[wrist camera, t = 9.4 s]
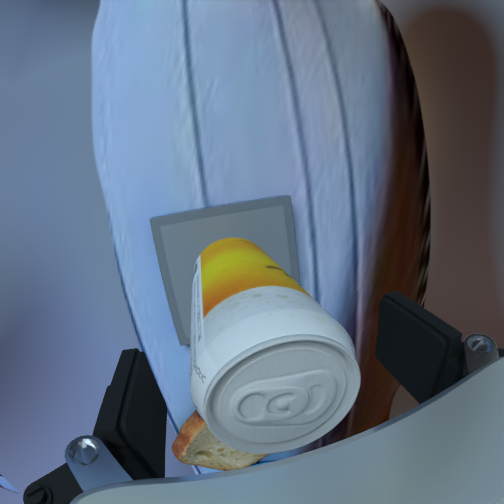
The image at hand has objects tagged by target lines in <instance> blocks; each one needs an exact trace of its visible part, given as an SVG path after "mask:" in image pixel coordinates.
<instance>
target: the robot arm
mask: <svg viewBox="0 0 504 504" xmlns="http://www.w3.org/2000/svg"><path fill="white" fill-rule="evenodd" d="M461 337H462V333H461V332H459V331H458V330H456V329H455V328H453V327H452V326H450V325H449V324H447V323H446V322H444V321H442V320H441V319H440V318H438V317H436V316H435V315H433V314H432V313H430V312H429V311H427V310H426V309H424V308H423V307H421V306H420V305H418V304H416V303H415V302H413V301H412V300H410V299H409V298H407V297H405V296H404V295H402V294H401V293H399V292H397V291H395V292H392V293H389V294H386V295H384V296H383V299H382V300H381V301H380V309H379V322H378V333H377V343H376V357H377V359H378V360H379V361H380V362H381V363H382V364H383V366H384V367H385V368H386V369H387V370H388V371H389V372H390V373H391V374H392V375H393V376H394V377H395V378H396V379H397V380H398V381H399V382H400V383H401V384H402V386H403V387H404V388H405V389H406V390H407V391H408V392H409V393H410V394H411V395H412V396H413V397H414V398H415V399H416V400H417V401H418V403H419V404H420V405H418V406H416V407H414V408H412V409H411V410H409V411H407V412H405V413H403V414H401V415H399V416H397V417H395V418H393V419H391V420H389V421H387V422H384V423H382V424H380V425H378V426H376V427H373V428H371V429H369V430H367V431H364V432H362V433H359V434H357V435H354V436H352V437H349V438H347V439H344V440H342V441H339V442H336V443H333V444H331V445H328V446H325V447H322V448H319V449H316V450H313V451H309V452H306V453H303V454H299V455H296V456H292V457H289V458H285V459H281V460H277V461H273V462H269V463H265V464H260V465H255V466H251V467H245V468H240V469H234V470H228V471H222V472H215V473H208V474H200V475H191V476H180V477H166V478H165V442H166V421H167V406H166V403H165V400H164V398H163V396H162V394H161V391H160V389H159V387H158V384H157V382H156V380H155V377H154V375H153V373H152V370H151V368H150V365H149V363H148V360H147V358H146V355H145V353H144V352H140V351H139V350H138V349H137V348H135V349H128V350H123V351H122V353H121V356H120V359H119V362H118V364H117V367H116V370H115V373H114V376H113V379H112V382H111V385H109V386H108V387H107V389H106V392H105V396H104V398H103V402H102V405H101V408H100V411H99V414H98V418H97V421H96V425H95V428H94V431H93V435H92V436H91V435H85V436H80V437H77V438H75V439H74V440H72V441H71V442H70V443H69V444H68V445H67V447H66V450H65V459H66V462H67V463H65V464H63V465H62V466H60V467H59V468H57V469H55V470H54V471H52V472H50V473H49V474H47V475H45V476H44V477H42V478H40V479H38V480H37V481H35V482H33V483H31V484H30V485H29V486H28V487H27V488H26V490H25V492H24V495H23V501H24V504H504V349H497V347H496V344H495V342H494V340H493V339H491V338H490V337H488V336H486V335H483V334H471V335H469V336H467V337H466V338H465V340H464V342H462V341H461Z"/></svg>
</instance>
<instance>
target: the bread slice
mask: <svg viewBox="0 0 504 504" xmlns="http://www.w3.org/2000/svg"><path fill="white" fill-rule="evenodd" d="M172 451H173V453H174V455H175V457H176V458H177V459H178V460H179V461H180V462H182V463H185V464H190V465H198V466H203V467H207V468H212V469H217V470H224V471H228V470H234V469H240V468H245V467H248V466H250V465H252V464H254V463H255V462H257V461H259V460H261V459H262V458H264V457H266V456H267V455H269V454H255V453H248V452H243V451H239V450H236V449H233V448H231V447H229V446H227V445H225V444H223V443H222V442H221V441H219V440H218V439H217V438H216V437H215V436H214V435H213V434H212V433H211V431H210V430H209V428H208V426H207V424H206V422H205V421H204V419H203V418H202V417H201V416H200V415H199V413H198V412H197V410H195V412H194V413H193V414H192V415H191V416H190V418H189V419H188V420H187V421H186V422H185V423H184V424H183V426H182V427H181V429H180V433H179V434H178V436H177V437H176V439H175V441H174V443H173V445H172Z"/></svg>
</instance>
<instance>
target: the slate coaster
mask: <svg viewBox="0 0 504 504" xmlns="http://www.w3.org/2000/svg"><path fill="white" fill-rule="evenodd" d="M150 224H151V229H152V234H153V239H154V244H155V249H156V253H157V258H158V262H159V267H160V271H161V276H162V280H163V284H164V288H165V292H166V296H167V300H168V304H169V308H170V311H171V315H172V319H173V322H174V326H175V329H176V333H177V336H178V340H179V343H180V346H182V345H188V344H190V338H191V303H192V280H193V269H194V265H195V263H196V260H197V258H198V257H199V255H200V254H201V253H202V251H203V250H204V249H205V248H206V247H208V246H209V245H210V244H212V243H214V242H215V241H218V240H220V239H224V238H230V237H237V238H243V239H247V240H249V241H251V242H253V243H255V244H256V245H258V246H259V247H260V248H261V249H262V250H263V251H264V252H265V253H266V254H267V255H268V256H269V257H271V258H272V259H273V260H274V261H275V262H276V263H277V264H278V265H279V266H280V267H281V268H282V269H283V270H284V271H285V272H286V273H287V274H288V275H289V276H290V277H291V278H292V279H293V280H295V281H296V282H297V283H298V284H299V285H300V280H299V269H298V259H297V249H296V240H295V231H294V222H293V213H292V205H291V197H290V195H283V196H275V197H268V198H261V199H255V200H248V201H242V202H235V203H229V204H223V205H217V206H211V207H205V208H200V209H194V210H188V211H183V212H178V213H172V214H167V215H162V216H157V217H152V218H150Z"/></svg>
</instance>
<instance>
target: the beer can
mask: <svg viewBox="0 0 504 504" xmlns="http://www.w3.org/2000/svg"><path fill="white" fill-rule="evenodd" d="M360 379H361V376H360V370H359V366H358V363H357V362H356V354H355V348H354V345H353V342H352V340H351V338H350V336H349V334H348V333H347V332H346V330H345V329H344V328H343V327H342V326H341V325H340V324H339V323H338V322H337V321H336V320H335V319H334V318H333V317H332V316H331V315H330V314H329V313H328V312H327V311H326V310H325V309H324V308H322V307H321V306H320V305H319V304H318V303H317V302H316V301H315V300H314V299H313V298H312V297H311V296H310V295H309V294H308V293H307V292H306V291H305V290H304V289H303V288H302V287H301V286H300V285H299V284H298V283H297V282H296V281H295V280H293V279H292V278H291V277H290V276H289V275H288V274H287V273H286V272H285V271H284V270H283V269H282V268H281V267H280V266H279V265H278V264H277V263H276V262H275V261H274V260H273V259H272V258H271V257H269V256H268V255H267V254H266V253H265V252H264V251H263V250H262V249H261V248H260V247H259V246H258V245H256V244H255V243H253V242H251V241H249V240H247V239H243V238H237V237H230V238H224V239H220V240H218V241H215V242H214V243H212V244H210V245H209V246H208V247H206V248H205V249H204V250H203V251H202V253H201V254H200V255H199V257H198V258H197V260H196V263H195V265H194V269H193V280H192V303H191V338H190V391H191V397H192V401H193V404H194V406H195V408H196V410H197V412H198V413H199V415H200V416H201V417H202V418H203V419H204V421H205V422H206V424H207V426H208V428H209V430H210V431H211V433H212V434H213V435H214V436H215V437H216V438H217V439H218V440H219V441H221V442H222V443H223V444H225V445H227V446H229V447H231V448H233V449H236V450H239V451H243V452H248V453H255V454H272V453H280V452H285V451H289V450H293V449H296V448H299V447H302V446H304V445H307V444H309V443H311V442H313V441H315V440H317V439H319V438H320V437H322V436H323V435H325V434H326V433H328V432H329V431H330V430H332V429H333V428H334V427H335V426H336V425H337V424H338V423H339V422H340V421H341V420H342V419H343V418H344V417H345V416H346V415H347V413H348V412H349V411H350V409H351V408H352V406H353V404H354V402H355V400H356V398H357V395H358V392H359V388H360Z"/></svg>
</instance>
